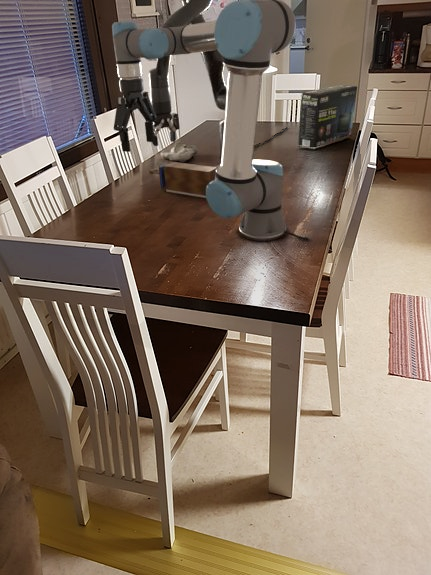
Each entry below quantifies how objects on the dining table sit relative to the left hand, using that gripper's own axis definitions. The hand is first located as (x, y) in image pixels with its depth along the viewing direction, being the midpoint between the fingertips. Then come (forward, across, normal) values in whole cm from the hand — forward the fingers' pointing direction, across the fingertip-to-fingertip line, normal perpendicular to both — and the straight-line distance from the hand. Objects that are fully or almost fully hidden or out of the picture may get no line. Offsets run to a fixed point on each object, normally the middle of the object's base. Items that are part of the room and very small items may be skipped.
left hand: (164, 143), depth 179 cm
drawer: (+18, -2, +4) cm, 18 cm away
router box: (+18, -102, +6) cm, 104 cm away
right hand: (-5, +21, +14) cm, 26 cm away
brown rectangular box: (+19, -4, +10) cm, 22 cm away
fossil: (+18, -33, -34) cm, 51 cm away
